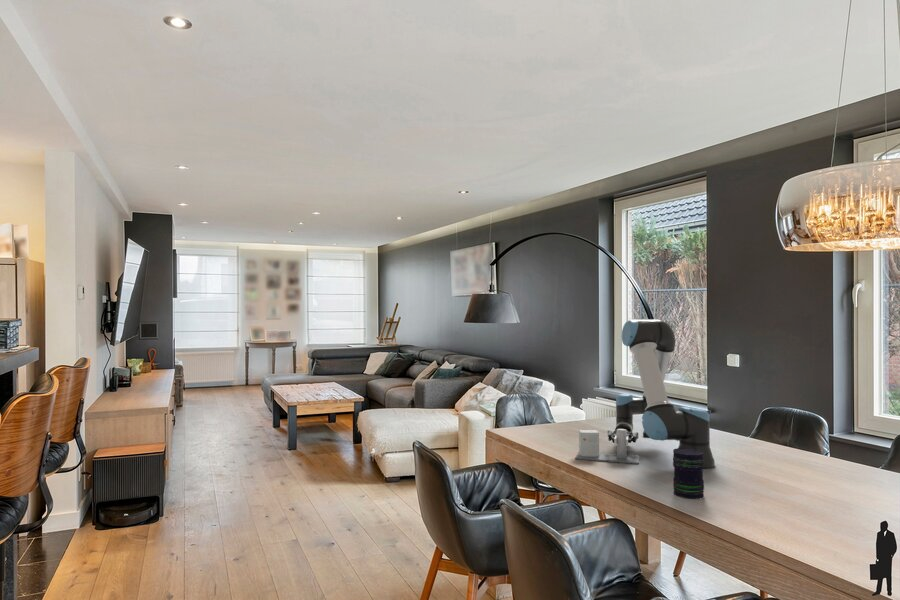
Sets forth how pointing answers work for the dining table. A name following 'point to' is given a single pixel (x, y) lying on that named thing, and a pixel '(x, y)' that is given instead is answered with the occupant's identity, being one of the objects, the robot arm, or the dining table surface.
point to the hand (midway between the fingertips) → (621, 442)
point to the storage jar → (688, 473)
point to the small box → (589, 443)
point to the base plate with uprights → (621, 452)
